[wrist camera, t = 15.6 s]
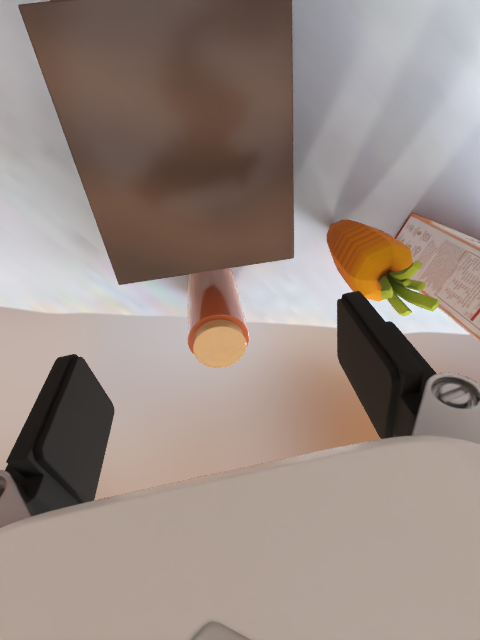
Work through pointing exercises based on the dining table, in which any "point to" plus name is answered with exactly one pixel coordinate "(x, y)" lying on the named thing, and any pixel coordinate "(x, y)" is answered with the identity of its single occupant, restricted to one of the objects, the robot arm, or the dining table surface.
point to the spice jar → (216, 318)
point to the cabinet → (176, 126)
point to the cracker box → (446, 268)
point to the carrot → (377, 265)
